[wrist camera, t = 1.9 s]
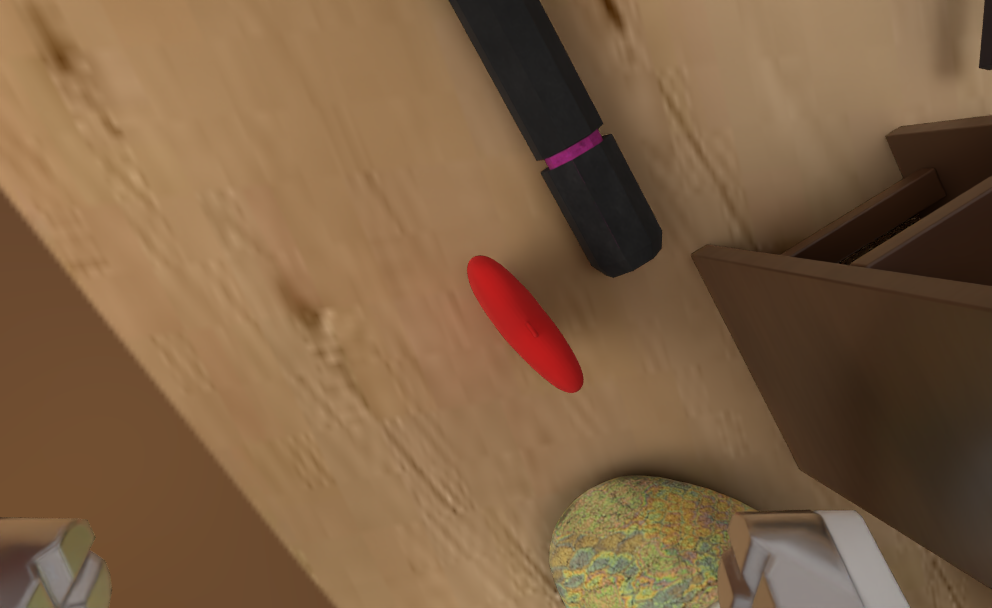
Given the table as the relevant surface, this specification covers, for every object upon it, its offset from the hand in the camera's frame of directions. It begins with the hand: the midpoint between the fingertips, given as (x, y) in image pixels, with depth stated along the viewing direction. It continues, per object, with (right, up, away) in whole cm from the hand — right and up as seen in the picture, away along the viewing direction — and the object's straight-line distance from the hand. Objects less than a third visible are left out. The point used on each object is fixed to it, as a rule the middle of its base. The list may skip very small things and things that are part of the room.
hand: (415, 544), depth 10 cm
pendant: (+1, +3, +18) cm, 19 cm away
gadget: (+1, +13, +17) cm, 21 cm away
